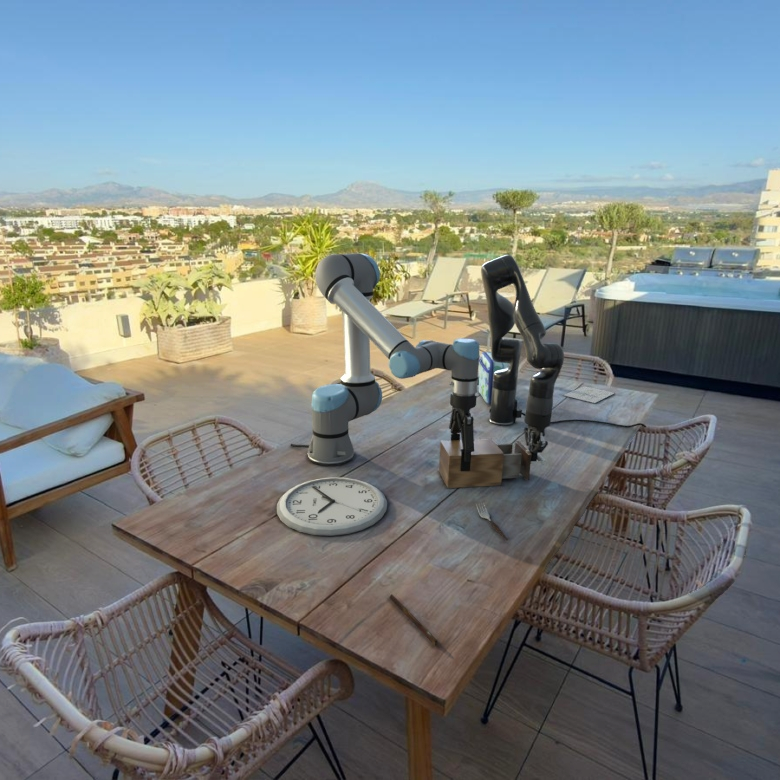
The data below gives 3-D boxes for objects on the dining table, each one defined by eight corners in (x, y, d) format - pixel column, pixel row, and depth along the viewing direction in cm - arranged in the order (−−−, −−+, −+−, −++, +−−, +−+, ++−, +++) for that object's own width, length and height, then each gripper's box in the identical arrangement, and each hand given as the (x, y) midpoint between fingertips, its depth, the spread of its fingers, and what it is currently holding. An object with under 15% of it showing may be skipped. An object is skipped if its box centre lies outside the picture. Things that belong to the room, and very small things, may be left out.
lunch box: (475, 390, 246) (478, 346, 240) (498, 390, 246) (501, 347, 240) (484, 408, 221) (487, 360, 215) (509, 409, 221) (513, 360, 215)
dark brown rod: (389, 598, 107) (389, 594, 107) (391, 597, 107) (391, 593, 107) (435, 645, 95) (435, 641, 95) (437, 644, 96) (437, 640, 95)
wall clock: (392, 527, 129) (268, 531, 127) (391, 533, 130) (269, 537, 127) (383, 473, 158) (282, 475, 155) (383, 478, 158) (282, 480, 156)
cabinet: (489, 468, 166) (491, 438, 163) (501, 485, 156) (503, 453, 152) (438, 471, 164) (440, 440, 161) (447, 488, 153) (449, 455, 150)
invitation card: (584, 385, 255) (614, 392, 245) (584, 386, 255) (614, 393, 245) (563, 394, 240) (594, 402, 230) (563, 395, 240) (594, 403, 230)
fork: (502, 542, 127) (502, 535, 126) (474, 509, 141) (475, 503, 141) (511, 541, 127) (512, 534, 127) (483, 508, 142) (484, 502, 142)
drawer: (533, 464, 167) (535, 440, 165) (546, 478, 158) (549, 453, 155) (470, 467, 164) (472, 443, 162) (480, 482, 155) (482, 456, 152)
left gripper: (441, 381, 162) (438, 446, 168) (462, 406, 139) (458, 480, 146) (464, 380, 163) (461, 445, 169) (489, 405, 140) (483, 479, 147)
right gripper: (518, 402, 162) (512, 453, 167) (535, 417, 149) (528, 472, 155) (541, 402, 163) (535, 453, 168) (560, 416, 150) (552, 471, 156)
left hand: (459, 461), depth 158 cm, fingers closed on cabinet, 11 cm apart
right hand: (532, 462), depth 161 cm, fingers closed
